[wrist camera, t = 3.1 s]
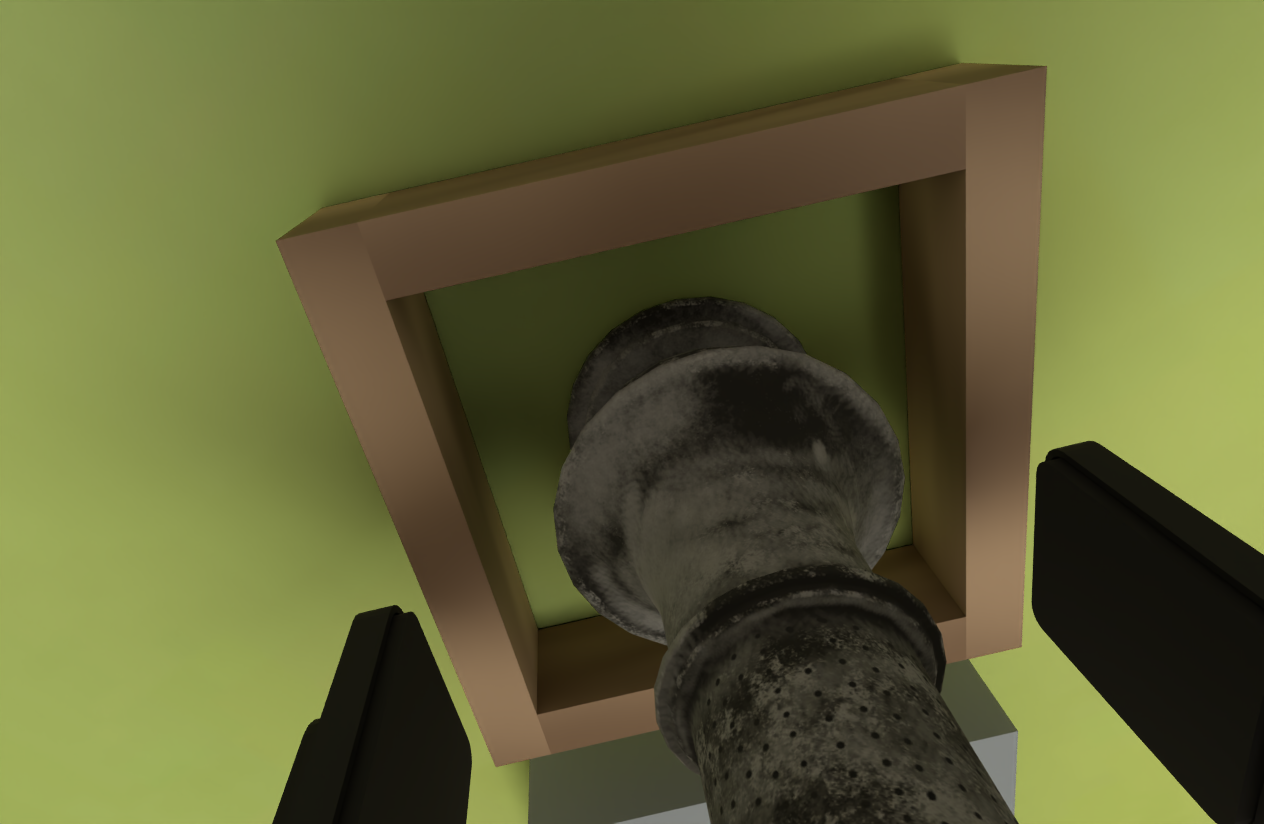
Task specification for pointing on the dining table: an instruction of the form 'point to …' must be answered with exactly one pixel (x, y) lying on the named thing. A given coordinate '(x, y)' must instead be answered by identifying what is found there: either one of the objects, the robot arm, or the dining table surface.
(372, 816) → the robot arm
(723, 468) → the dark grey turned piece
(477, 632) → the walnut holder
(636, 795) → the grey holder
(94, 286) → the dining table surface
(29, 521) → the dining table surface
